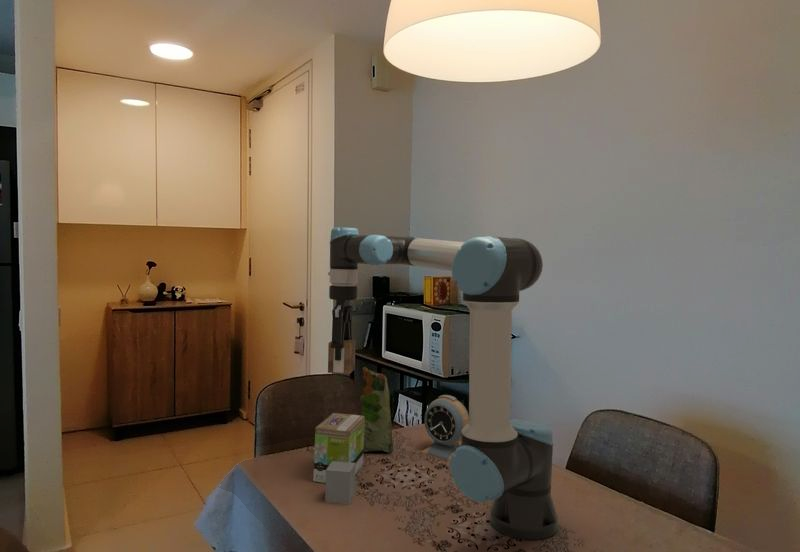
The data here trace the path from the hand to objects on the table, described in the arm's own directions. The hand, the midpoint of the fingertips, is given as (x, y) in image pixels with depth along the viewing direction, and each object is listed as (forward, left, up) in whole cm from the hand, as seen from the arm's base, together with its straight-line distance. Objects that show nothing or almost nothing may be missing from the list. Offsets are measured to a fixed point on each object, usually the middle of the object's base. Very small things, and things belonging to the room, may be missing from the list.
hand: (341, 369), depth 154 cm
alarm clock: (+22, -28, -29) cm, 46 cm away
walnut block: (0, 0, 0) cm, 0 cm away
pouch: (+20, -6, -29) cm, 36 cm away
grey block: (-15, -4, -29) cm, 33 cm away
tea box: (0, 0, -29) cm, 29 cm away
